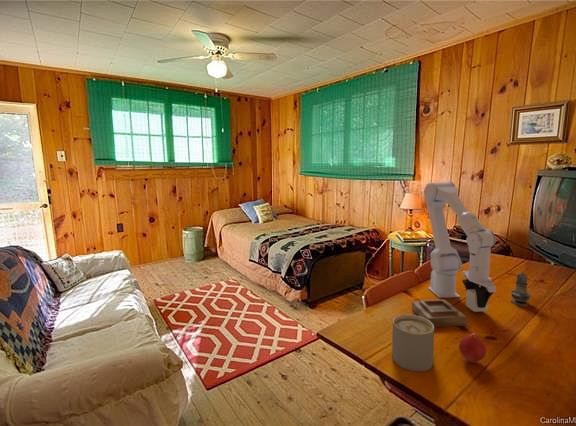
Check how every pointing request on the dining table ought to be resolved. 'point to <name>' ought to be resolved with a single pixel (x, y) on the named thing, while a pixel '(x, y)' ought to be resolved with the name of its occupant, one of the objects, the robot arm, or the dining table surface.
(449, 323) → the taupe stepped square slab
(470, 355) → the onion
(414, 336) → the grey can
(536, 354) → the dining table surface
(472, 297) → the block
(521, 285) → the salt shaker
